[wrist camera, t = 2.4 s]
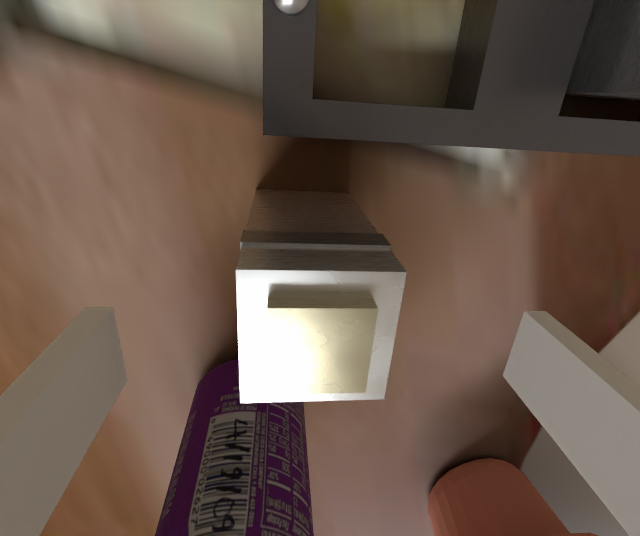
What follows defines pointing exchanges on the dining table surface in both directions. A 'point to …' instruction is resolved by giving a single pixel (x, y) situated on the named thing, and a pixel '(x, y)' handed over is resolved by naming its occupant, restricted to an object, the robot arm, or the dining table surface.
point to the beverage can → (239, 466)
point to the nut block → (314, 300)
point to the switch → (476, 79)
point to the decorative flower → (491, 503)
